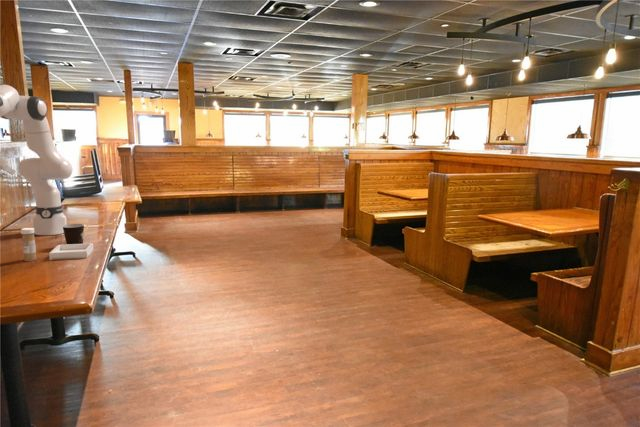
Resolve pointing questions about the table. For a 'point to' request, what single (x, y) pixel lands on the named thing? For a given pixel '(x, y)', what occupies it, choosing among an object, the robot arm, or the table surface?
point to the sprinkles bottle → (28, 244)
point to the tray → (71, 251)
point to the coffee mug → (74, 233)
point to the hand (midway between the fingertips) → (10, 174)
